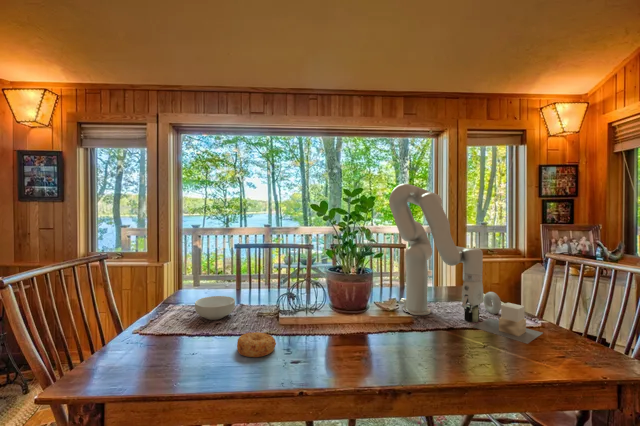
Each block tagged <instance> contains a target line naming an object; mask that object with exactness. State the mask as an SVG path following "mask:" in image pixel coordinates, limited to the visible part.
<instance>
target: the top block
mask: <svg viewBox="0 0 640 426" xmlns="http://www.w3.org/2000/svg"><path fill="white" fill-rule="evenodd" d="M500 317H501V318H503V319H507V320H510V321H514V322H520V321H522V320H523V319H525V306H524V305H520V304H516V303H513V302H512V303H511V302H505V303H503V304H501V310H500Z"/></svg>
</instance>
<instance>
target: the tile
mask: <svg viewBox="0 0 640 426" xmlns="http://www.w3.org/2000/svg"><path fill="white" fill-rule="evenodd" d="M471 327H472V328H475V329H478V330H481V331H484V332H487V333H490V334H495V335H497V336H500V337H504V338H507V339H510V340H514V341H518V342H521V343H523V344H527V345H528V344H530V343H531V342H532V341H534V340H536V339H537V338H539V337H540V336H541V335H543V334H544V332H542V331H538V330H534V329H529V328H527V327H526V332H525V333H523V334H522V335H520V336H515V335H512V334H509V333H505V332H502V331H499V319H497V320H496V319H494V318H488V319H486V320H483V321H481V322H479V323H476V324H474V325H472V326H471Z"/></svg>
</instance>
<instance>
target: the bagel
mask: <svg viewBox="0 0 640 426" xmlns="http://www.w3.org/2000/svg"><path fill="white" fill-rule="evenodd" d="M236 345H237V346H236V349H237V351H238V353H239V354H240V355H241V356H243V357H247V358H261V357H264V356H267V355H270V354H271V353H273V351H274V350H275V348H276V345H277V342H276V339H275V337H274V336H273V335H271V334H269V333H266V332H265V333H264V332H258V331H256V332H254V331H253V332H249V331H248V332H246V333H244V334H241V335H240V336H239V337H238V339H237V344H236Z"/></svg>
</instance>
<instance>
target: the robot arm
mask: <svg viewBox="0 0 640 426" xmlns="http://www.w3.org/2000/svg"><path fill="white" fill-rule="evenodd" d="M389 195H390V196H389V199H388V205H389V209H390V210H391V214H392V216H393V219H394V222H395V225H396V228H397V230H398V234H399V236H400V238H401V239H402V241H404V242H408V243H409V246H408V247H407V249H406V250H405V256H404V257H405V267H406V271H405V273H406V279H405V283H406V285H405V289H406V290H405V298H404V297H401V299H400V300H399V303H400V304H403V307H402V309H403V308H404V309H406V310H407V311H408V312H409V313H410V314H409V315H413V316H428V315H430V314H431V311H432V309H430V307H428V286H429V285H428V284H429V283H428V282H429V281H428V280H429V279H428V278H429V277H428V276H429V274H428V272H429V270H428V268H429V267H428V261H429V260H430V258H432V255H433V248H432V245H431V243H430V240H429V237H428V235H427V232H426V230H425V228H424V225H422V224H421V223H420V222H419V221H416V220H415V218H414V216H413V214H412V211H411V208H410V207H409V203H410V204H414V205H416V206H418V207H419V208H420V209H421V211H422V214H423V216H424V217H425V221H426V222H427V224H428V226H429V229H430V232H431V236H432V239H433V241H434V245H435V247H436V249H437V252H438V253H439V256H440V257H441V260H442V262H443V263H444V264H446V265H448V266H450V267H451V266H452V267H453V266H457V265H458V264H459V263H460V264H461V263H462V281H463V282H462V291H461V302H462V304H461V307H463V311H464V321H467V322H469V323H473V322H472V319H473V313H472V306H476V307H478V320H479V319H480V308H481V304H484V285H483V267H484V266H483V264H484V263H483V261H484V260H483V259H484V257H483V256H484V254H483V253H484V252H483V250H482V249H480V248H477V247H463V246H458V245H457V246H456V243H455V242H454V239H453V238H452V234H451V225H450V221H449V219H448V216H447V214H446V212H445V210H444V208H443V205H442V204H443V201H442V198H441V196H440V195H439V194H438V193H435V192H433V191H429V190H426V189H424V188H421V187H419V186H417V185H413V184H409V183H400V184H398V185H397V186H395V187H394V188H393V190H392V191H391V192H390V194H389ZM467 306H470V309H469V307H467Z"/></svg>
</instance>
